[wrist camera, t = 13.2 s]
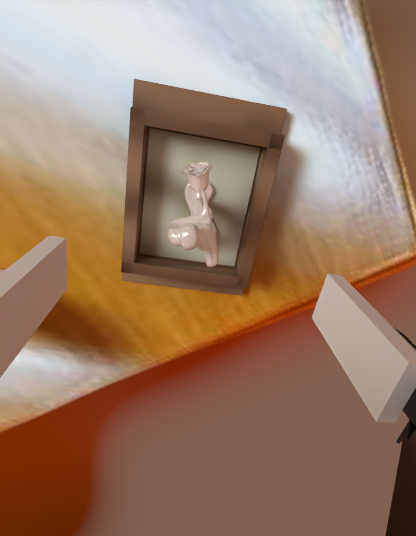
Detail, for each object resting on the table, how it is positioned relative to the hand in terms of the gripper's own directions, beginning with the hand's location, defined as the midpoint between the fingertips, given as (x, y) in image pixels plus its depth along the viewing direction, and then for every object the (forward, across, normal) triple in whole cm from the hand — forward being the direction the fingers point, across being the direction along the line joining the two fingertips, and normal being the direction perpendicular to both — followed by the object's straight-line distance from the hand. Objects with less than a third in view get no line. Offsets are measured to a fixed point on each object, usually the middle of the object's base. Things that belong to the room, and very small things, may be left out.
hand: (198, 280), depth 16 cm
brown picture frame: (+19, 0, 0) cm, 19 cm away
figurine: (+18, 0, 0) cm, 18 cm away
